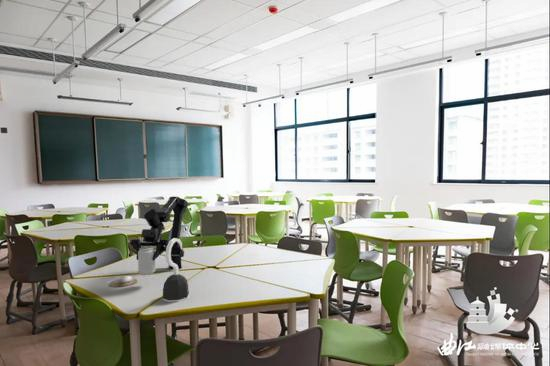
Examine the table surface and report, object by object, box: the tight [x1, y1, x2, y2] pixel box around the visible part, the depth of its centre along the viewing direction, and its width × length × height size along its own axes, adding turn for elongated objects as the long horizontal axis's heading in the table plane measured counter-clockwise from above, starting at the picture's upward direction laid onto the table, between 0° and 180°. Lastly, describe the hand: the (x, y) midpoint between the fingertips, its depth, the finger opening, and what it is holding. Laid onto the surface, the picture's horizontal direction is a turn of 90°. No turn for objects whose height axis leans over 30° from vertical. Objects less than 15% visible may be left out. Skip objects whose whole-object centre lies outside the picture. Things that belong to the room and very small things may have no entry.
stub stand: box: [109, 275, 138, 288], centre depth 169 cm, size 12×12×2 cm
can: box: [137, 246, 156, 276], centre depth 165 cm, size 8×8×12 cm
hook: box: [162, 238, 190, 303], centre depth 148 cm, size 11×11×25 cm
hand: (145, 259), depth 163 cm, fingers closed on can, 7 cm apart
